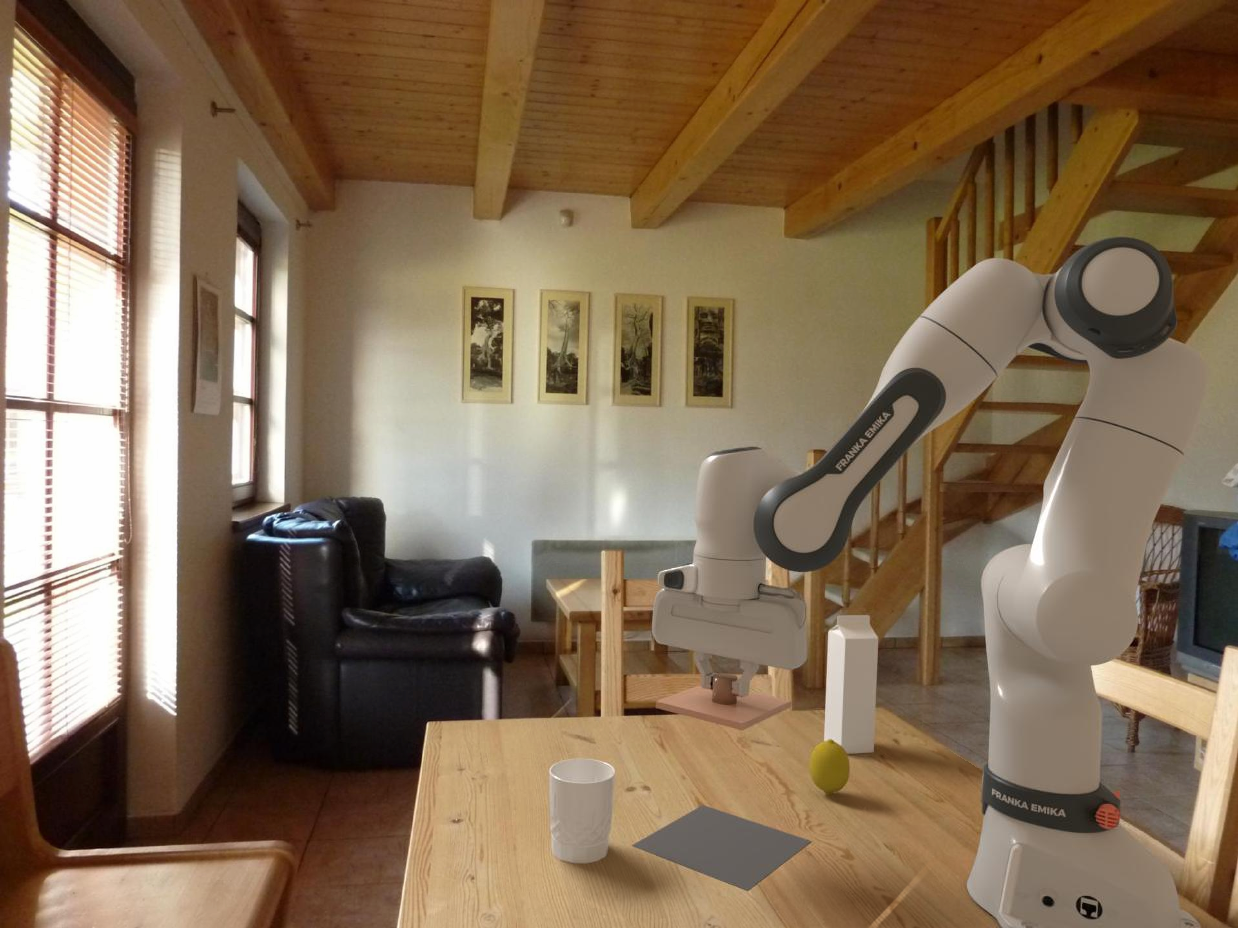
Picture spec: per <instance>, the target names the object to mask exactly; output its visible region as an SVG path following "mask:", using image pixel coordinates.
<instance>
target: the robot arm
mask: <svg viewBox="0 0 1238 928" xmlns="http://www.w3.org/2000/svg"><path fill="white" fill-rule="evenodd" d="M1171 271H1172V270H1171V268H1170V266H1169V263H1168V261H1167V260H1166V258H1165V256H1164V255H1163V254H1162V252H1161V251H1160V250H1158V248H1156V247H1155V246H1153V245H1152V244H1150V243H1148V242H1147V241H1144V240H1142V239H1139V238H1135V237H1130V236H1114V237H1108V238H1103V239H1099V240H1096V241H1093V242H1091V243H1089V244H1087V245H1085V246H1083V247H1081V248H1080V249H1078V250H1076V251H1075V252H1074V253H1073V254H1072V255H1070V257H1068V259H1067V260H1066V261H1065V262H1064V263H1063V265H1062V266H1061V267H1060V268H1059V269H1058V270H1057V271H1056V272H1054V273H1048V274H1040V273H1037V272H1032V271H1031V270H1030V269H1028V268H1027V267H1026V266H1024V265H1022V264H1020V263H1019V262H1017V261H1014V260H1011V259H1007V258H1001V257H992V258H987V259H983V260H982V261H980V262H978V263H976V264H975V265H974V266H972V267H971V268H969V269H968V270H967V271H966V272H964V273H963V274H962V275H961V276H960V277H958V278H957V279H956V280H955V281H953V283H951V284H950V285H949V286H948V287H947V288H946V289H945V290H943V292H942V293H940V294H939V295H938V296H937V297H936V298H935V299H934V300H933V301H932V302H931V303H930V304H929V305H928V306H927V308H926V309H925V310H924V311H923V312H922V313H921V314H920V315H919V317H918V318H916V319H915V320H914V322H913V323H912V324H911V326H909V328H908V330H907V331H906V332H905V334H903V336H902V337H901V338H900V340H899V342H898V343H897V344H896V346H895V348H894V349H893V351H892V352H891V354H890V356H889V358H888V360H887V361H886V363H885V365H884V366H883V368H882V371H881V373H880V376H879V380H878V383H877V385H876V387H875V390H874V392H873V393H872V396H871V397H870V399H869V401H868V403H867V404H866V406H865V407H864V409H863V410H862V412H861V413H860V414H859V415H858V416H857V418H856V419H855V420H854V421H853V423H851V425H850V426H849V427H848V428H847V429H846V430H845V431H844V433H842V435H841V436H840V437H839V438H838V439H837V440H836V441H835V443H833V445H832V446H831V447H829V449H828V450H827V451H826V452H825V453H824V455H823V456H822V457H821V458H820V459H819V460H818V461H817V462H815V464H814V465H812V466H811V467H810V468H808V469H807V470H806V471H804V472H801V471H800V470H797V469H795V468H792V467H790V466H788V465H786V464H785V463H783V462H781V461H779V460H777V459H776V458H775V457H773V456H771V455H770V454H769V453H768V452H766V451H765V449H764V448H763V447H758V446H746V447H745V446H743V447H735V448H728V449H724V450H723V449H722V450H719V451H718V450H717V451H715V452H712V453H711V454H709V455H708V456H707V457H706V458H705V459H704V460H703V461H702V462H701V465H700V468H699V471H698V477H697V482H696V492H695V493H696V494H695V505H694V506H695V507H694V522H695V526H696V530H697V532H696V533H697V537H696V541H695V542H696V543H695V545H694V547H693V558H692V559H693V561H692V562H689V563H688V562H687V563H685V564H682V565H681V566H677V567H672V568H669V569H665V570H661V571H659V572H658V574H657V585H658V587H659V588H661V589H660V590H659V591H658V592H657V594H655V595H656V596H655V598H654V602H653V607H652V608H653V610H652V622H651V632H652V636H653V639H654V640H655V641H656V643H657V644H660V645H665V646H670V647H675V648H678V649H685V650H689V651H693V661H694V663H695V666H696V667H697V670H698V672H699V674H700V685H701V687H702V688H704V689H709V690H712V688H713V675H714V674H718V673H717V672H714V671H713V668H712V664H711V663H710V659H712V658H713V656H717V657H721V658H722V657H723V658H728V659H732V660H738V661H740V663H739V664H740V666H739V668H740V669H741V670H743V673H742V674H741V676H740V678H738V679H737V680H734V681H732V688H733V689H732V695H734V696H738V697H743V698H744V697H746V696H748V694H749V691H750V687H751V686H750V685H751V684H750V682H751V681H752V680H753V678H754V676H755V675H756V673H757V672H758V671H759V669H760V665H762V666H766V667H772V668H777V669H781V670H787V671H789V670H790V671H791V670H796V669H797V668H799V667H802V665H803V664H804V663H805V662H806V661H807V659H808V637H807V628H806V622H807V619H808V618H807V617H808V615H807V614H808V605H807V602H806V600H805V598H804V597H803V595H801V594H800V593H798V592H797V590H796V589H794V588H790V587H780V586H777V585H776V586H775V585H772V584H771V585H770V584H766V575H767V574H766V573H767V571H766V570H767V559H768V560H769V561H770V562H771V563H773V564H774V565H776V566H778V567H780V568H781V569H784V570H787V571H789V572H790V571H791V572H796V573H810V572H814V571H817V570H820V569H822V568H825V567H827V566H828V565H830V564H831V563H832V562H833V561H835V560H836V559H837V558H838V556H840V554H841V553H842V551H843V549H844V548H845V547H846V543H847V541H848V538H849V536H850V531H851V529H852V525H853V521H854V518H855V516H856V513H857V511H858V509H859V507H860V506H861V505H862V503H863V501H865V499H866V498H867V496H868V495H869V494H870V493H871V492H872V491H873V490H874V489H875V487H876V486H877V485H878V484H879V483H880V482H881V481H882V480H883V478H884V477H885V476H886V475H887V474H888V473H889V472H890V471H891V469H892V468H893V467H894V466H895V465H896V464H897V463H898V461H899V460H900V459H901V458H902V457H903V456H904V455H905V453H907V452H908V450H909V449H910V448H911V447H912V446H913V445H914V444H916V443H917V442H918V441H920V439H922V438H923V437H925V435H927V434H928V433H930V432H931V431H933V430H934V429H937V428H938V427H940V426H941V425H943V424H944V423H946V422H948V421H949V420H951V419H952V418H953V417H955V416H956V415H957V414H959V413H960V412H961V411H962V410H964V409H965V408H966V407H968V406H969V405H970V404H971V403H972V402H973V401H975V400H976V399H977V398H979V396H980V395H981V394H982V393H983V392H984V391H985V390H987V388H989V386H991V384H992V383H993V382H994V381H995V380H996V379H997V377H999V376H1000V374H1001V373H1002V372H1003V371H1004V370H1005V369H1006V368H1007V367H1008V365H1009V364H1010V363H1011V362H1012V361H1013V360H1014V359H1015V358H1016V357H1017V356H1018V355H1020V354H1021V353H1022V351H1024V350H1025V349H1027V348H1030V349H1032V350H1035V351H1039V352H1042V353H1044V354H1047V355H1048V356H1049V355H1050V356H1052V357H1055V358H1057V359H1060V360H1062V361H1065V362H1069V363H1073V364H1074V363H1075V364H1088V368H1089V382H1088V383H1089V384H1088V386H1087V390H1086V393H1085V396H1084V398H1083V401H1082V403H1081V404H1080V406H1079V408H1078V410H1077V412H1076V414H1075V417H1074V418H1073V420H1072V422H1071V424H1070V427H1069V428H1068V431H1067V433H1066V436H1065V438H1064V439H1063V442H1062V443H1061V446H1060V448H1059V450H1058V453H1057V455H1056V457H1055V459H1054V461H1053V463H1052V466H1051V467H1050V470H1049V472H1048V473H1047V476H1046V477H1045V478H1046V479H1045V480H1044V482H1043V483H1044V484H1043V498H1042V499H1043V500H1042V505H1041V509H1040V513H1039V519H1038V522H1037V526H1036V529H1035V534H1034V537H1033V541H1032V543H1025V544H1017V545H1015V546H1011V547H1008V548H1006V549H1004V550H1002V551H1000V552H998V553H997V554H995V555H994V556H993V557H992V558H991V559H990V560H989V561H988V562H987V564H986V566H985V568H984V569H983V572H982V575H981V578H980V579H981V581H980V586H981V587H980V588H981V589H980V590H981V596H982V601H983V618H984V637H985V650H986V658H987V666H988V667H987V668H988V676H989V677H988V678H989V679H988V680H989V687H990V688H989V689H990V690H989V692H990V710H989V711H990V713H989V714H990V715H989V733H988V734H989V735H988V757H987V758H988V760H987V763H985V764H984V766H983V767H984V768H983V773H982V778H981V791H980V792H981V793H980V794H981V795H980V796H981V797H980V803H981V813H982V815H983V821H982V827H981V833H980V838H979V843H978V848H977V852H976V856H975V860H974V863H973V867H972V869H971V872H970V873H969V877H968V879H967V882H966V888H967V890H968V891H967V892H968V894H969V895H970V897H971V898H972V899H973V901H974V902H975V903H976V904H977V905H979V907H981V908H982V909H984V910H985V911H986V912H988V913H989V914H990V915H992V916H993V917H994V918H995V919H996V920H997V922H998V924H999V925H1000V927H1001V928H1202V927H1201V924H1200V923H1199V922H1198V921H1197V919H1196V918H1195V917H1193V915H1191V913H1190V912H1188V911H1186V910H1183V909H1182V908H1181V907H1180V901H1179V896H1178V891H1177V888H1176V884H1175V883H1176V882H1175V881H1174V878H1173V876H1172V873H1171V872H1170V870H1169V869H1168V867H1167V866H1166V864H1165V863H1164V862H1162V860H1160V859H1159V858H1158V857H1157V856H1156V855H1155V854H1153V853H1152V852H1151V851H1150V850H1149V849H1148V848H1146V846H1144V845H1143V844H1142V843H1141V842H1140V841H1139V840H1138V839H1136V838H1135V836H1133V835H1132V834H1131V833H1130V832H1129V831H1128V830H1127V829H1126V828H1124V827H1123V826H1122V825H1121V823H1120V819H1121V808H1122V807H1121V793H1120V790H1118V789H1116V791H1115V793H1113V792H1112V791H1111V790H1110V789H1109V788H1108V787H1107V786H1106V785H1104V783H1102V782H1101V781H1100V775H1101V773H1100V772H1101V756H1102V755H1101V754H1102V733H1103V732H1102V731H1103V711H1102V706H1101V702H1100V701H1099V698H1098V694H1097V691H1096V686H1095V682H1094V680H1095V679H1094V676H1093V670H1092V669H1093V668H1092V666H1098V665H1103V664H1106V663H1108V662H1109V663H1110V662H1111V661H1113V660H1115V659H1117V658H1118V657H1120V656H1121V655H1122V654H1123V653H1124V652H1126V650H1127V649H1128V648H1129V647H1130V645H1131V644H1132V643H1133V641H1134V639H1135V637H1136V634H1137V630H1138V626H1139V611H1138V607H1137V601H1136V596H1137V590H1138V585H1139V580H1140V576H1141V571H1142V568H1143V567H1142V566H1143V562H1144V557H1145V553H1146V548H1147V544H1148V540H1149V536H1150V533H1151V529H1152V527H1153V524H1154V521H1155V518H1156V517H1157V514H1158V512H1159V509H1160V507H1161V505H1162V503H1163V501H1164V499H1165V497H1166V495H1167V493H1168V491H1169V488H1170V486H1171V484H1172V482H1173V479H1174V477H1175V475H1176V473H1177V471H1178V469H1179V467H1180V464H1181V463H1182V461H1183V458H1184V456H1185V455H1186V451H1187V450H1188V449H1189V446H1190V443H1191V441H1192V438H1193V436H1194V433H1195V431H1196V428H1197V425H1198V423H1199V421H1200V420H1199V419H1200V416H1201V413H1202V411H1203V407H1204V403H1205V399H1206V396H1207V392H1208V385H1209V382H1210V369H1209V365H1208V364H1207V362H1206V360H1205V358H1204V357H1203V356H1202V355H1201V354H1200V353H1199V352H1197V350H1195V349H1194V348H1192V347H1191V346H1189V345H1188V344H1185V343H1183V342H1181V341H1179V340H1176V339H1173V338H1172V337H1171V336H1172V335H1173V334H1174V333H1175V331H1176V329H1177V326H1178V319H1177V312H1176V308H1175V300H1174V282H1173V281H1174V280H1173V275H1172V272H1171ZM1188 925H1190V926H1188ZM1191 926H1193V927H1191Z"/></svg>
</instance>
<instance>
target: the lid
mask: <svg viewBox="0 0 1238 928" xmlns="http://www.w3.org/2000/svg"><path fill="white" fill-rule="evenodd" d="M737 679H739V677H738V675H735V674H731V673H725V672H724V673H723V672H722V673H717V674H714V675H713V688H712V690H709V689H704V688H702V687H701V684H700V685H696V686H694V687H690V688H688V689H685V690H683V691H680V692H677V693H675V694H671V695H670V696H666V697H664V698H661V699H658V700H656V701H655V709H658V710H659V709H660V710H663V711H667V712H671V713H675V714H679V715H682V716H686V717H689V718H693V719H697V720H701V721H705V722H709V723H712V724H716V725H720V726H724V727H728V728H731V729H735V730H738V731H739V730H740V731H744V730H746V729H748V728H751V727H753V726H754V725H757V724H760V722H763V721H766V720H767V719H770V718H772V717H773V716H776V715H778V714H780V713H782V712H784V711H787V710H788V709H790V708H792V700H789V699H786V698H785V699H784V698H780V697H776V696H772V695H767V694H763V693H759V692H754V691H750V690H749V694H748V696H746V697H744V698H743V697H738V696H734V695H732V689H733V688H732V681H734V680H737Z"/></svg>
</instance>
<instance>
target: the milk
mask: <svg viewBox="0 0 1238 928" xmlns="http://www.w3.org/2000/svg"><path fill="white" fill-rule="evenodd" d="M836 618H837V619H836V625H835V626H833V627H832V628H829V630H828V634H827V635H828V636H827V656H826V683H825V706H824V707H825V708H824V709H825V710H824V711H825V712H824V734H823V735H824V736H823V742H825V741H827V740H828V739H832V740H833V741H834V742H836V743H838V744H839V745H841V746H842V747H843V748H844V750H845V751H846V753H847V755H849V754H850V755H852V754H853V755H854V754H868V753H869V754H870V753H875V750H874V749H875V729H876V727H875V725H876V707H877V706H876V705H877V704H876V702H877V680H878V679H877V677H878V674H877V673H878V653H879V652H878V651H879V650H878V649H879V637H878V635H877V634H876V632H875V630H874V629H873V627H872V626H871V623H870V622H871V616H870V615H869V614H865V615H864V614H863V615H862V614H857V615H856V614H855V615H854V614H853V615H851V614H850V615H838V616H837V617H836Z"/></svg>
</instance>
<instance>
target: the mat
mask: <svg viewBox="0 0 1238 928" xmlns="http://www.w3.org/2000/svg"><path fill="white" fill-rule="evenodd" d="M811 843H812V840H809V839H807V838H804V837H801V836H797V835H794V834H791V833H788V832H787V831H786V832H785V831H782V830H780V829H776V828H773V827H770V826H768V825H764V824H761V823H758V822H755V821H752V820H749V819H746V818H743V817H740V816H737V815H734V814H732V813H728V812H725V811H722V810H719V809H716V808H713V807H710V806H707V805H704V804H702V805H700V806H698V807H697V808H695V809H693V810H691V811H690V812H688V813H686V814H684V815H683V816H681V817H679V818H677V819H676V820H673V821H672V822H670V823H669V824H667V825H665V826H664V827H661V828H659V829H658V830H656V831H654V832H652V833H651V834H649V835H648V836H646V837H644V838H642V839H641V840H639V841H637V842H635V843H634V844H631V847H634V848H636V849H638V850H642V851H644V852H647V853H650V854H651V855H654V856H657V857H659V858H662V859H664V860H667V861H669V862H672V863H675V864H677V865H680V866H682V867H685V868H687V869H691V871H692V870H693V871H695V872H697V873H700V874H703V875H706V876H708V877H711V878H713V879H715V880H718V881H721V882H723V883H726V884H729V885H731V886H734V887H736V888H739V889H740V890H741V889H742V890H744V891H746V892H748V891H750V890H751V889H753V888H754V887H755V886H756V885H758V884H759V883H760V882H761V881H762V880H764V879H765V878H766V877H768V876H770V874H771V873H773V872H774V871H776V870H777V869H778V868H779V867H781V866H782V865H783V864H785V863H787V861H789V860H790V859H791V858H792V857H794V856H795V855H796V854H797V853H799V852H800V851H802V850H803V849H804V848H805V847H807V846H808V845H809V844H811Z"/></svg>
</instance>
